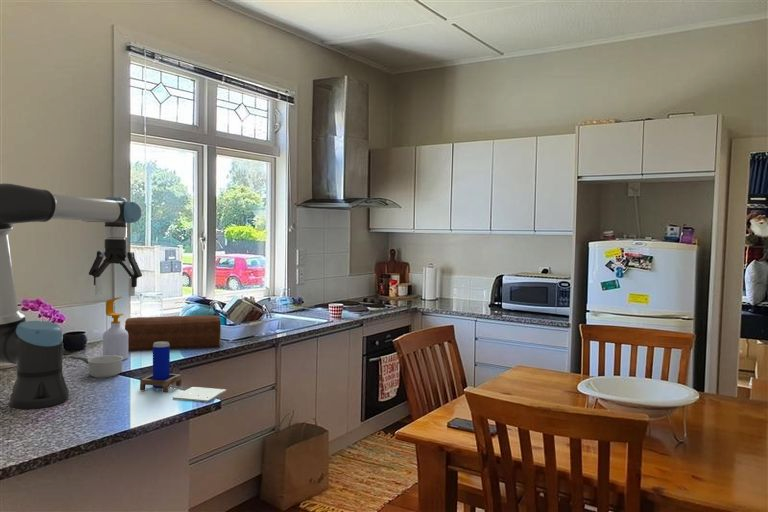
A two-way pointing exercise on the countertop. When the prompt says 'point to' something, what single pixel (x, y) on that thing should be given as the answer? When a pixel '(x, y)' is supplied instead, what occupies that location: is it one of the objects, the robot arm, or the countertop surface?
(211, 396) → the coaster
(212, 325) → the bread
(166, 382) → the brown square stand
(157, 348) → the beverage can
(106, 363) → the saucepan
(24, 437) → the countertop surface
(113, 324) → the soap bottle
